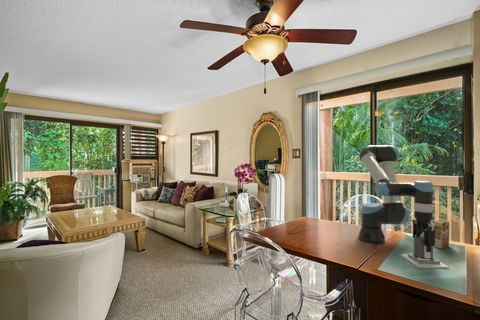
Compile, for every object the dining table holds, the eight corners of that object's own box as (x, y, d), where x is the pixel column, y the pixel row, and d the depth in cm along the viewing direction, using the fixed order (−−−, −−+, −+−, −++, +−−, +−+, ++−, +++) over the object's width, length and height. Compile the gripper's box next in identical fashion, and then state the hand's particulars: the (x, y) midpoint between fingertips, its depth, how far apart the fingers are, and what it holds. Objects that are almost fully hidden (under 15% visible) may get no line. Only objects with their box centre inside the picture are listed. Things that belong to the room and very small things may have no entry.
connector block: (413, 254, 122) (413, 233, 122) (425, 254, 122) (425, 233, 121) (420, 258, 117) (420, 236, 117) (432, 259, 117) (433, 236, 116)
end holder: (400, 255, 127) (400, 251, 127) (427, 255, 126) (427, 251, 126) (418, 267, 113) (418, 263, 113) (448, 268, 112) (448, 263, 112)
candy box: (441, 249, 135) (442, 223, 134) (433, 246, 139) (433, 221, 138) (449, 246, 138) (449, 221, 138) (441, 243, 142) (441, 219, 142)
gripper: (445, 215, 110) (445, 263, 110) (418, 207, 128) (418, 248, 128) (428, 215, 110) (428, 263, 111) (404, 207, 128) (404, 248, 129)
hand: (423, 255), depth 119 cm, fingers closed on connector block, 5 cm apart
